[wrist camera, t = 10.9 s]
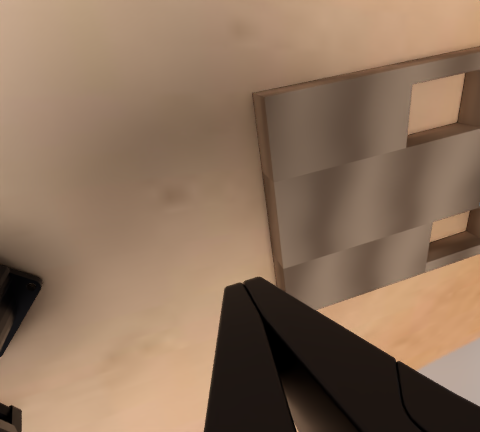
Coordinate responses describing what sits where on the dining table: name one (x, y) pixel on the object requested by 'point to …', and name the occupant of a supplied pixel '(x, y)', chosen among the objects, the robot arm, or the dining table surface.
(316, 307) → the board
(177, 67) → the dining table surface
